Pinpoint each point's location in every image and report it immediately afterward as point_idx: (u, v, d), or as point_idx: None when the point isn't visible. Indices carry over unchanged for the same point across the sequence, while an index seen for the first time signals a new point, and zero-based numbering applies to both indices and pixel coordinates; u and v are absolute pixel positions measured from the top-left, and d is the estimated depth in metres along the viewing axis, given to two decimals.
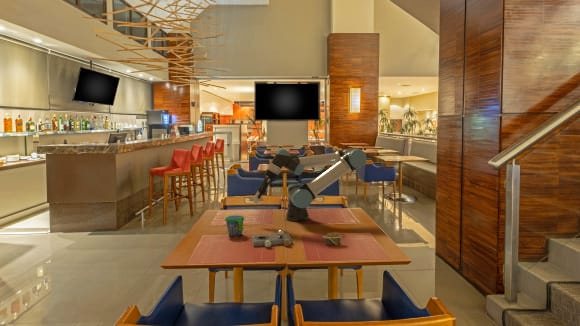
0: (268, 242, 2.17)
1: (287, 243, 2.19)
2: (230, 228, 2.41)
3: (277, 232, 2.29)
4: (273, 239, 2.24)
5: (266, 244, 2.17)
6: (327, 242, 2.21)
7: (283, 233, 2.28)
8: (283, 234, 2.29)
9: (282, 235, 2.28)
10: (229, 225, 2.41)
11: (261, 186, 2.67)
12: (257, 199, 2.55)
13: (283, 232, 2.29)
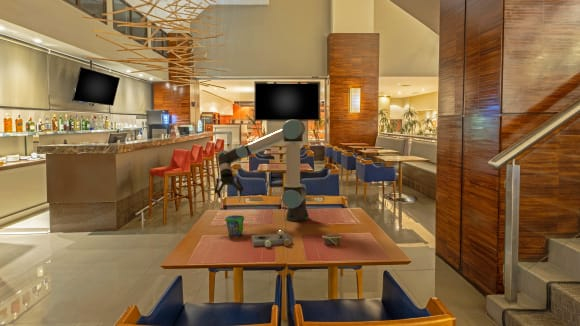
0: (268, 242, 2.17)
1: (287, 243, 2.19)
2: (230, 228, 2.41)
3: (277, 232, 2.29)
4: (273, 239, 2.24)
5: (266, 244, 2.17)
6: (326, 242, 2.21)
7: (283, 233, 2.28)
8: (283, 234, 2.29)
9: (282, 235, 2.28)
10: (229, 225, 2.41)
11: (234, 187, 2.64)
12: (220, 198, 2.56)
13: (283, 232, 2.29)
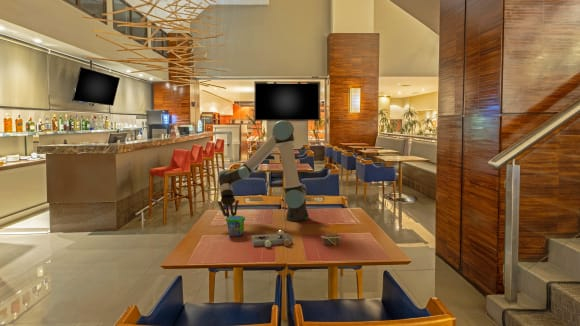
0: (268, 242, 2.17)
1: (287, 243, 2.19)
2: (231, 228, 2.40)
3: (277, 232, 2.29)
4: (273, 239, 2.24)
5: (266, 244, 2.17)
6: (325, 242, 2.21)
7: (283, 233, 2.28)
8: (283, 234, 2.29)
9: (282, 235, 2.28)
10: (230, 225, 2.40)
11: (230, 209, 2.60)
12: None
13: (283, 232, 2.29)
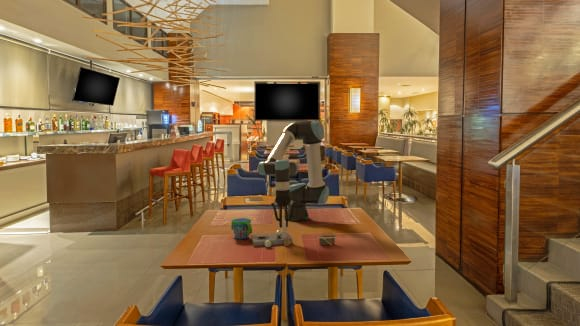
0: (268, 242, 2.17)
1: (287, 243, 2.19)
2: (238, 231, 2.33)
3: None
4: (273, 239, 2.24)
5: (266, 244, 2.17)
6: (321, 242, 2.21)
7: (281, 232, 2.28)
8: (281, 233, 2.28)
9: (281, 234, 2.28)
10: (237, 228, 2.33)
11: (281, 212, 2.27)
12: (285, 228, 2.29)
13: (280, 231, 2.28)
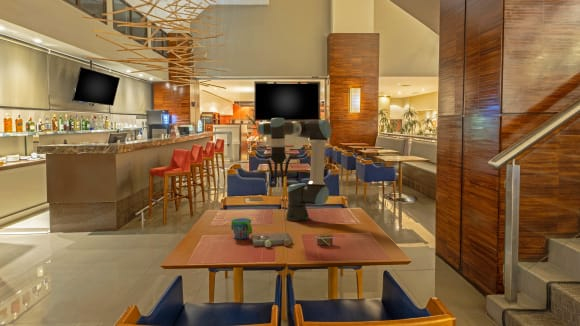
0: (268, 242, 2.17)
1: (287, 243, 2.19)
2: (238, 231, 2.33)
3: None
4: (273, 239, 2.24)
5: (266, 244, 2.17)
6: (319, 242, 2.21)
7: None
8: None
9: None
10: (237, 228, 2.33)
11: None
12: None
13: None
